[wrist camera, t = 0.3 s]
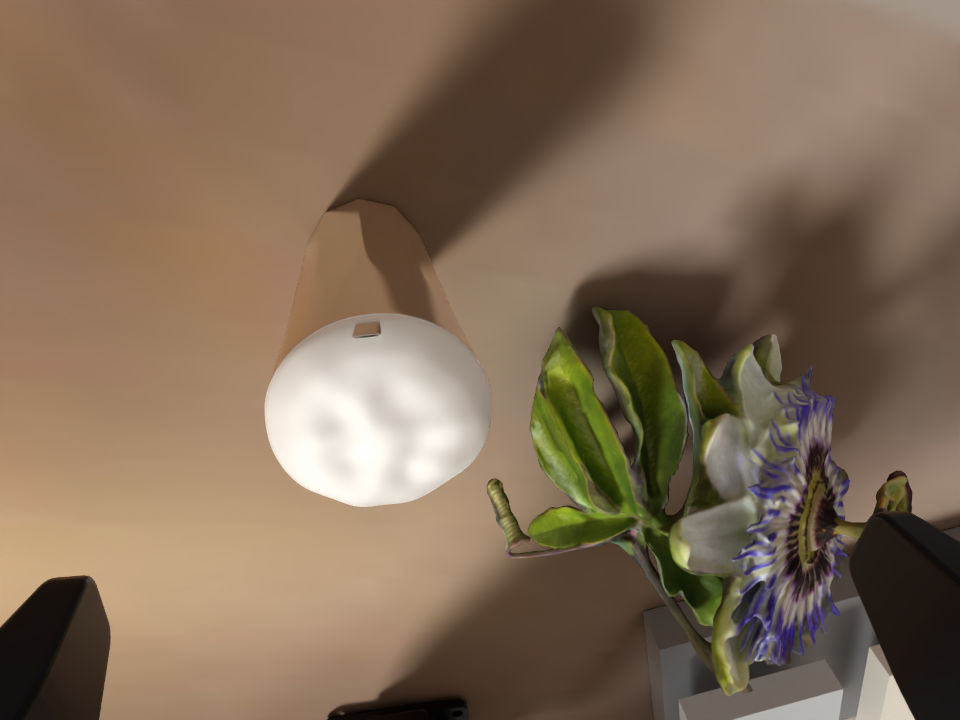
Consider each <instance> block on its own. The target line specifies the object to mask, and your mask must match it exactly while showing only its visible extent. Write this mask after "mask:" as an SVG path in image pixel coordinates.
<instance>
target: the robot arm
mask: <svg viewBox="0 0 960 720" xmlns="http://www.w3.org/2000/svg"><path fill="white" fill-rule="evenodd" d="M849 571H850V575H851V578H852V580H853V583H854V585H855V587H856V590H857V592H858V594H859V597H860V599H861V601H862V604H863V606H864V609H865V611H866V613H867V616H868V618H869V620H870V623H871V625H872V627H873V630H874V632H875V634H876V637H877V639H878V642H879V644H880V646H881V649H882V651H883V653H884V656H885V658H886V660H887V663H888V665H889V667H890V670H891V672H892V674H893V677H894V679H895V681H896V683H897V685H898V687H899V690H900V692H901V694H902V696H903V698H904V700H905V702H906V704H907V706H908V708H909V710H910V711H911V713H912V715H913V717H914V719H915V720H960V541H958V540H956V539H955V538H953V537H951V536H950V535H948V534H946V533H945V532H943V531H941V530H940V529H938V528H936V527H934V526H933V525H931V524H929V523H928V522H926V521H924V520H923V519H921V518H919V517H918V516H916V515H914V514H912V513H910V512H907V511H890V512H879V513H875V514H874V515H872V516H871V517H870V518H869V520H868V521H867V523H866V525H865V527H864V529H863V531H862V533H861V535H860V537H859V539H858V541H857V542H856V544H855V546H854V548H853V550H852V552H851V554H850V557H849ZM110 638H111V636H110V625H109V621H108V618H107V615H106V612H105V609H104V606H103V603H102V600H101V597H100V594H99V591H98V588H97V585H96V583H95V581H94V580H93V579H92V578H91V577H90V576H85V575H83V576H70V577H58V578H52V579H49V580H47V581H46V582H44V583H43V584H42V585H41V586H39V587H38V588H37V590H36V591H35V592H34V593H33V594H32V595H31V596H30V597H29V598H28V599H27V600H26V601H25V602H24V603H23V604H22V605H21V606H20V607H19V608H18V609H17V610H16V611H15V613H14V614H13V615H12V616H11V617H10V618H9V619H8V620H7V621H6V622H5V623H4V624H3V625H2V626H1V627H0V720H99V717H100V710H101V703H102V697H103V690H104V683H105V677H106V670H107V663H108V657H109V650H110ZM327 720H468V708H467V703H466V701H465V700H462V699H454V700H447V701H440V702H433V703H426V704H420V705H413V706H406V707H399V708H392V709H385V710H378V711H371V712H364V713H357V714H350V715H343V716H336V717H332V718H329V719H327Z"/></svg>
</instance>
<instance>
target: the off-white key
mask: <svg viewBox="0 0 960 720" xmlns="http://www.w3.org/2000/svg"><path fill="white" fill-rule="evenodd" d="M856 720H915V719H914V717H913V715H912V713H911V711H910V710H909V708H908V706H907V704H906V702H905V700H904V698H903V696H902V694H901V692H900V690H899V687H898V685H897V683H896V681H895V679H894V677H893V674H892V672H891V670H890V667H889V665H888V663H887V660H886V658H885V656H884V653H883V651H882V649H881V646H880V644H878V645H875V646H871V647H869V651H868V657H867V662H866V668H865V673H864V678H863V684H862V689H861V695H860V700H859V706H858V711H857V717H856Z"/></svg>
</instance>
